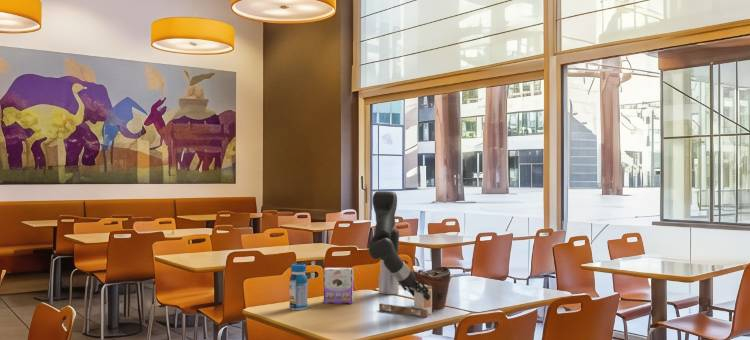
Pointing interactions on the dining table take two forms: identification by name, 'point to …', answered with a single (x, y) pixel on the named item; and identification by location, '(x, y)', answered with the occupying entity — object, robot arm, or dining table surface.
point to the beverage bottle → (298, 287)
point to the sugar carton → (423, 300)
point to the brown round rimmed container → (435, 284)
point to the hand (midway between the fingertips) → (422, 297)
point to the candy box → (338, 285)
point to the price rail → (403, 310)
